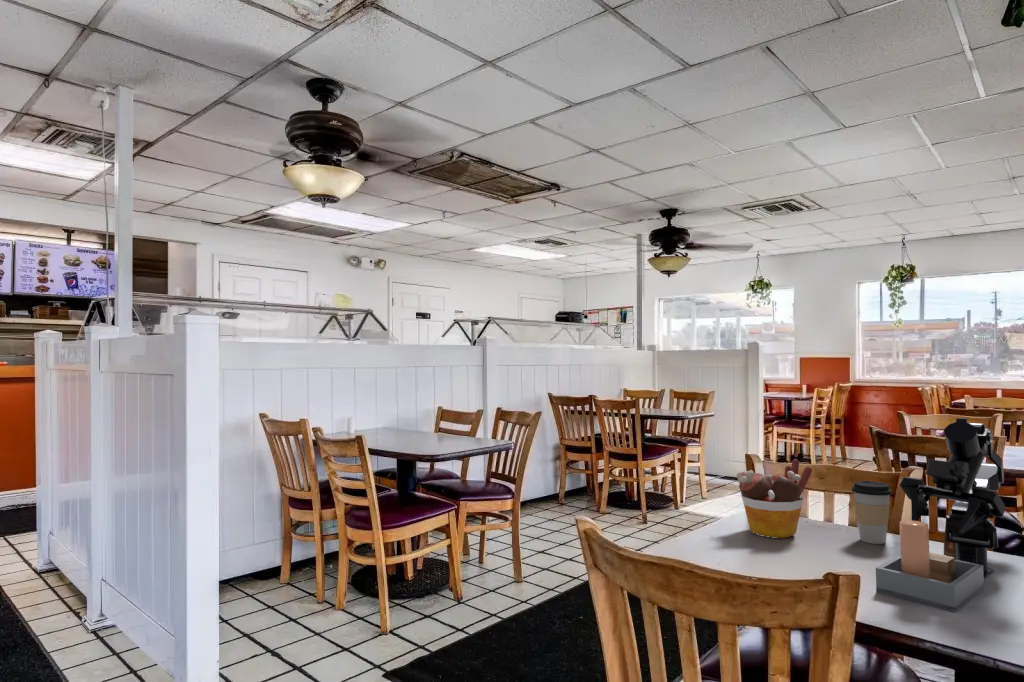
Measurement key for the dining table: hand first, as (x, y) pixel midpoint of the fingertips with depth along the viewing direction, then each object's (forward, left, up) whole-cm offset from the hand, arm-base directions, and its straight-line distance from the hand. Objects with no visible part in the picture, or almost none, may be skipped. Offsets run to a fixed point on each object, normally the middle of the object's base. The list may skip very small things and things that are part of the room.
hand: (935, 527), depth 134 cm
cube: (-1, 0, -12) cm, 12 cm away
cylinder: (+8, -1, -12) cm, 14 cm away
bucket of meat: (-12, -43, -13) cm, 47 cm away
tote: (+4, 0, -13) cm, 13 cm away
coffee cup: (-24, -22, -13) cm, 35 cm away
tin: (-28, -5, -13) cm, 32 cm away
